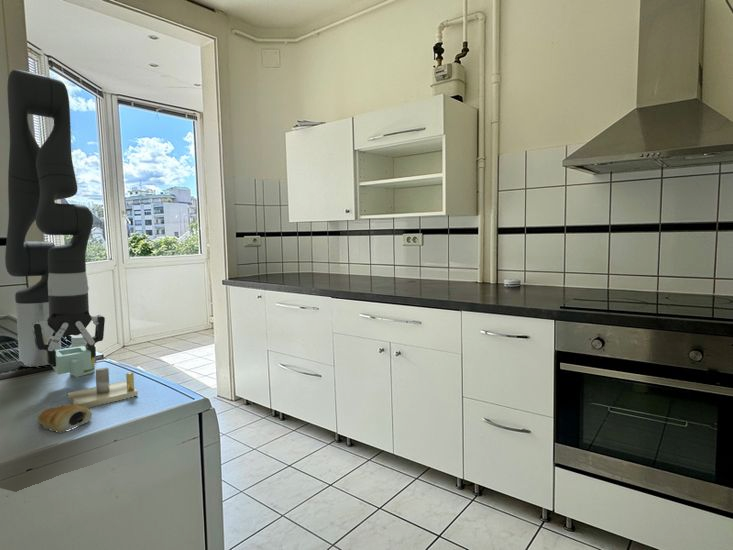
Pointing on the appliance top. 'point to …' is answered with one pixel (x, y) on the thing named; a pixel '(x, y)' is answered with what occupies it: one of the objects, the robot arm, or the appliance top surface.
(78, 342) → the supplement bottle
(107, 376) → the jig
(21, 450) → the appliance top surface
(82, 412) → the pastry
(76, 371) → the pale green hollow block
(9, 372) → the appliance top surface
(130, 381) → the pin
